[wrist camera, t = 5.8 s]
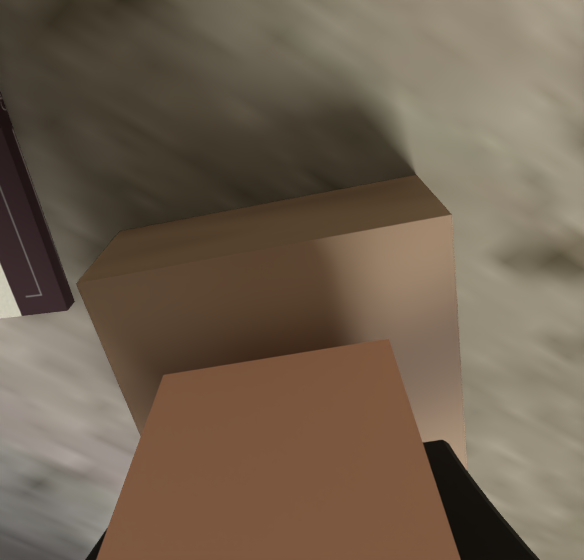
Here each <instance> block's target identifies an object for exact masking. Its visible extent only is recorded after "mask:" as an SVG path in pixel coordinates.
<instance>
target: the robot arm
mask: <svg viewBox="0 0 584 560" xmlns="http://www.w3.org/2000/svg"><path fill="white" fill-rule="evenodd" d="M423 445H424V448H425V452H426V455H427V458H428V461H429V464H430V467H431V470H432V473H433V476H434V479H435V482H436V485H437V488H438V492H439V495H440V498H441V501H442V504H443V507H444V510H445V513H446V516H447V519H448V522H449V525H450V528H451V532H452V535H453V538H454V541H455V544H456V547H457V550H458V553H459V556H460V559H461V560H539V558H538V557H537V556H536V555H535V554H534V553H533V552H532V551H531V550H530V548H529V547H528V546H527V545H526V544H525V543H524V541H523V540H522V539H521V538H520V537H519V535H518V534H517V533H516V532H515V531H514V530H513V528H512V527H511V526H510V525H509V524H508V523H507V521H506V520H505V519H504V518H503V517H502V515H501V514H500V513H499V512H498V511H497V509H496V508H495V507H494V506H493V504H492V503H491V502H490V501H489V499H488V498H487V497H486V495H485V494H484V493H483V491H482V490H481V489H480V488H479V486H478V485H477V484H476V482H475V481H474V480H473V478H472V477H471V476H470V474H469V473H468V471H467V470H466V469H465V467H464V466H463V464H462V463H461V461H460V460H459V458H458V457H457V455H456V454H455V452H454V451H453V449H452V448H451V446H450V444H449V443H447V442H446V441H444V440H436V441H429V442H423ZM107 529H108V528H107ZM107 529H106V531H105V532H104V534H103V535H102V536H101V538H100V539H99V541H98V542H97V544H96V545H95V547H94V548H93V549H92V551H91V552H90V554H89V555H88V557H87V558H86V560H96V559H97V556H98V554H99V551H100V548H101V545H102V543H103V540H104V537H105V534H106V532H107Z"/></svg>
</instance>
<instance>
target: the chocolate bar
mask: <svg viewBox="0 0 584 560" xmlns="http://www.w3.org/2000/svg"><path fill="white" fill-rule="evenodd" d="M74 302H75V301H74V298H73V296H72V293H71V290H70V287H69V284H68V281H67V279H66V276H65V273H64V270H63V267H62V265H61V262H60V259H59V256H58V253H57V250H56V248H55V245H54V242H53V239H52V236H51V233H50V231H49V228H48V225H47V222H46V219H45V217H44V214H43V211H42V208H41V205H40V202H39V200H38V197H37V194H36V191H35V188H34V185H33V183H32V180H31V177H30V174H29V171H28V169H27V166H26V163H25V160H24V157H23V154H22V152H21V149H20V146H19V143H18V140H17V138H16V135H15V132H14V129H13V126H12V123H11V121H10V118H9V115H8V112H7V109H6V106H5V104H4V101H3V98H2V95H1V92H0V318H8V317H16V316H25V315H33V314H42V313H50V312H59V311H67V310H69V308H70V307H71V306H72V304H73V303H74Z"/></svg>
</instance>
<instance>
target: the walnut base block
mask: <svg viewBox="0 0 584 560" xmlns="http://www.w3.org/2000/svg"><path fill="white" fill-rule="evenodd" d="M76 285H77V287H78V289H79V292H80V294H81V296H82V299H83V301H84V304H85V306H86V308H87V311H88V313H89V315H90V318H91V320H92V322H93V325H94V327H95V329H96V332H97V334H98V337H99V339H100V341H101V344H102V346H103V348H104V351H105V353H106V355H107V358H108V360H109V363H110V365H111V367H112V370H113V372H114V374H115V377H116V379H117V381H118V384H119V386H120V388H121V391H122V393H123V396H124V398H125V400H126V403H127V405H128V407H129V410H130V412H131V414H132V417H133V419H134V422H135V424H136V426H137V429H138V431H139V433H140V436H141V435H142V432H143V430H144V427H145V424H146V421H147V419H148V416H149V413H150V410H151V408H152V405H153V402H154V399H155V397H156V394H157V391H158V388H159V386H160V383H161V380H162V377H163V375H166V374H173V373H179V372H185V371H191V370H197V369H203V368H210V367H216V366H222V365H228V364H234V363H241V362H247V361H253V360H259V359H265V358H272V357H278V356H284V355H290V354H296V353H302V352H309V351H315V350H321V349H327V348H333V347H340V346H346V345H352V344H358V343H364V342H370V341H377V340H383V339H389V341H390V344H391V347H392V350H393V353H394V356H395V359H396V362H397V365H398V369H399V372H400V375H401V378H402V381H403V384H404V387H405V390H406V393H407V396H408V399H409V402H410V405H411V408H412V412H413V415H414V418H415V421H416V424H417V427H418V430H419V433H420V436H421V439H422V442H429V441H436V440H444V441H446V442H447V443H449V444H450V446H451V448H452V449H453V451H454V452H455V454H456V455H457V457H458V458H459V460H460V461H461V463H462V464H463V466H464V467H465V469H466V470H467V458H466V442H465V425H464V409H463V392H462V376H461V359H460V343H459V326H458V309H457V293H456V276H455V260H454V243H453V227H452V214H451V213H450V212H449V211H448V210H447V209H446V208H445V206H444V205H443V204H442V203H441V202H440V201H439V200H438V199H437V197H436V196H435V195H434V194H433V193H432V192H431V191H430V190H429V188H428V187H427V186H426V185H425V184H424V183H423V182H422V181H421V179H420V178H419V177H418V176H417V175H413V176H407V177H402V178H397V179H392V180H386V181H381V182H376V183H371V184H365V185H360V186H355V187H350V188H344V189H339V190H334V191H329V192H323V193H318V194H313V195H308V196H302V197H297V198H292V199H287V200H281V201H276V202H271V203H266V204H260V205H255V206H250V207H245V208H239V209H234V210H229V211H224V212H218V213H213V214H208V215H203V216H197V217H192V218H187V219H182V220H176V221H171V222H166V223H161V224H155V225H150V226H145V227H140V228H134V229H129V230H124V231H120V232H119V233H118V234H117V235H116V236H115V238H114V239H113V240H112V241H111V242H110V243H109V245H108V246H107V247H106V248H105V249H104V251H103V252H102V253H101V254H100V255H99V257H98V258H97V259H96V260H95V261H94V263H93V264H92V265H91V266H90V267H89V269H88V270H87V271H86V272H85V273H84V275H83V276H82V277H81V278H80V279H79V281H78V282H77V283H76Z"/></svg>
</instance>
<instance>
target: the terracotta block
mask: <svg viewBox="0 0 584 560" xmlns="http://www.w3.org/2000/svg"><path fill="white" fill-rule="evenodd" d="M96 560H461V559H460V556H459V553H458V550H457V547H456V544H455V541H454V538H453V535H452V532H451V528H450V525H449V522H448V519H447V516H446V513H445V510H444V507H443V504H442V501H441V498H440V495H439V492H438V488H437V485H436V482H435V479H434V476H433V473H432V470H431V467H430V464H429V461H428V458H427V455H426V452H425V448H424V445H423V442H422V439H421V436H420V433H419V430H418V427H417V424H416V421H415V418H414V415H413V412H412V408H411V405H410V402H409V399H408V396H407V393H406V390H405V387H404V384H403V381H402V378H401V375H400V372H399V369H398V365H397V362H396V359H395V356H394V353H393V350H392V347H391V344H390V341H389V339H383V340H377V341H370V342H364V343H358V344H352V345H346V346H340V347H333V348H327V349H321V350H315V351H309V352H302V353H296V354H290V355H284V356H278V357H272V358H265V359H259V360H253V361H247V362H241V363H234V364H228V365H222V366H216V367H210V368H203V369H197V370H191V371H185V372H179V373H173V374H166V375H163V377H162V380H161V383H160V386H159V388H158V391H157V394H156V397H155V399H154V402H153V405H152V408H151V410H150V413H149V416H148V419H147V421H146V424H145V427H144V430H143V432H142V435H141V438H140V441H139V443H138V446H137V449H136V452H135V454H134V457H133V460H132V463H131V465H130V468H129V471H128V474H127V476H126V479H125V482H124V485H123V488H122V490H121V493H120V496H119V499H118V501H117V504H116V507H115V510H114V512H113V515H112V518H111V521H110V523H109V526H108V529H107V532H106V534H105V537H104V540H103V543H102V545H101V548H100V551H99V554H98V556H97V559H96Z"/></svg>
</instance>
